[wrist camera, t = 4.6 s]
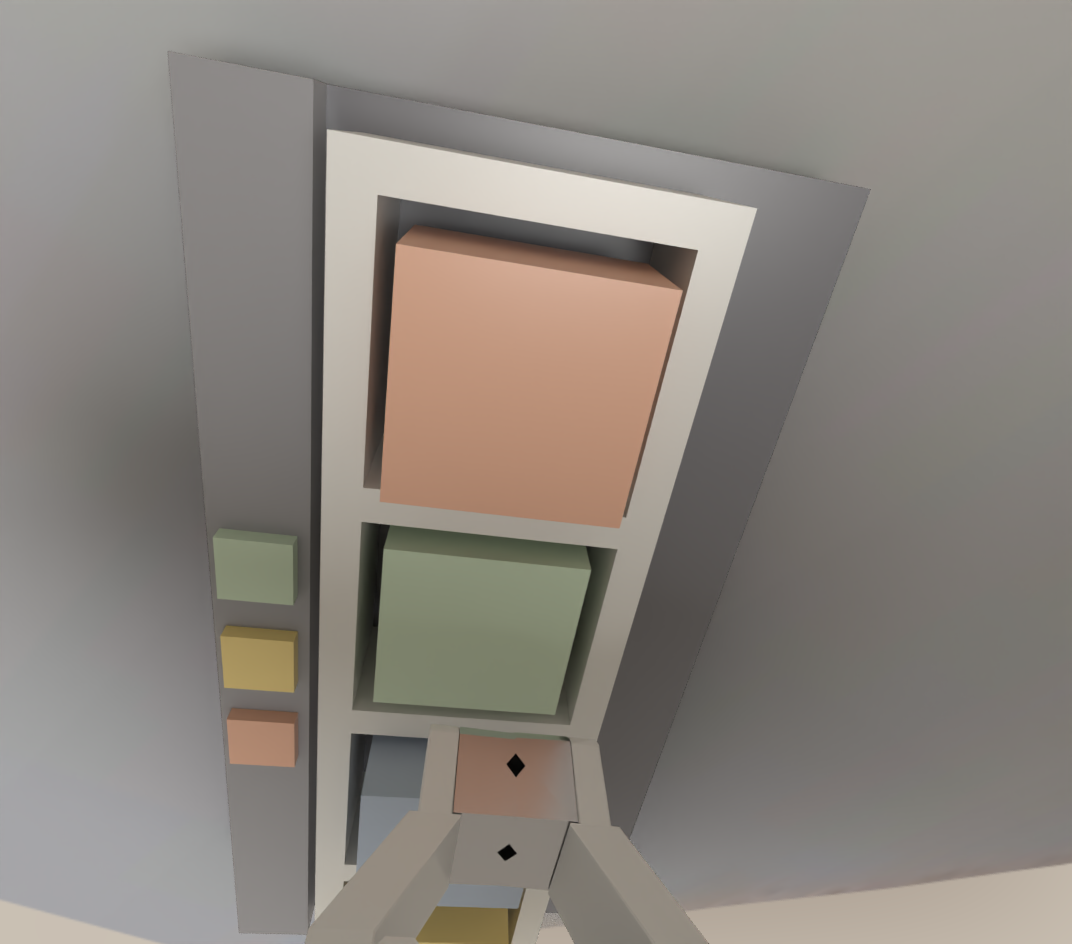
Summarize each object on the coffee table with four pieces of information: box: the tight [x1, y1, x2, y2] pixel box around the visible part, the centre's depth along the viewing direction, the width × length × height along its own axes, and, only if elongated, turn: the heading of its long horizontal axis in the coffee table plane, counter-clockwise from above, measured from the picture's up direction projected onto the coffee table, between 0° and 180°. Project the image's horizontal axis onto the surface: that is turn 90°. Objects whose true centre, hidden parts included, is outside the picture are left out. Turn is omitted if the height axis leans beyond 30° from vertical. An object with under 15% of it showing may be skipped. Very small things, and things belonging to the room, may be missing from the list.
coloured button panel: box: [168, 51, 871, 944], centre depth 18 cm, size 14×27×5 cm, turn 171°
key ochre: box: [416, 906, 509, 944], centre depth 20 cm, size 4×4×2 cm
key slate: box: [356, 735, 524, 909], centre depth 17 cm, size 4×4×2 cm
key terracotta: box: [380, 225, 683, 528], centre depth 12 cm, size 4×4×2 cm
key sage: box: [373, 525, 591, 715], centre depth 15 cm, size 4×4×2 cm
